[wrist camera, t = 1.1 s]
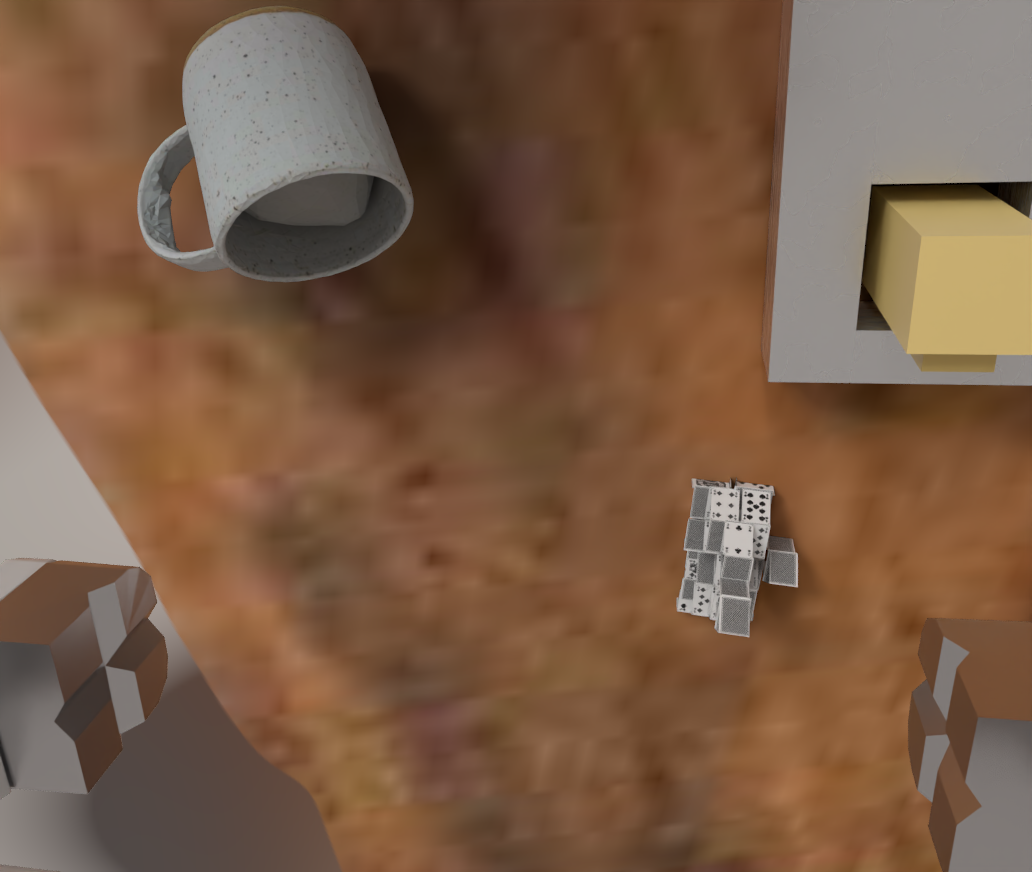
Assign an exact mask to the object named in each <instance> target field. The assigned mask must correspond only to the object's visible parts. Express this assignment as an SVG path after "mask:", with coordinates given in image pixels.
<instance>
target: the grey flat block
mask: <svg viewBox="0 0 1032 872" xmlns="http://www.w3.org/2000/svg"><path fill="white" fill-rule="evenodd" d="M972 182H999V187H998V193H997V198H999V199H1000V200H1002V201H1003V202H1005V203H1007V204H1008V205H1010V206H1011V207H1013V208H1014V209H1016V210H1017V211H1019V212H1020V213H1022V214H1023V215H1025V216H1027V217H1028V218H1030V219H1031V220H1032V0H783V5H782V21H781V37H780V53H779V69H778V85H777V101H776V117H775V133H774V149H773V166H772V182H771V198H770V214H769V230H768V246H767V262H766V278H765V294H764V310H763V327H762V343H761V351H762V356H763V360H764V365H765V369H766V374H767V379H768V382H809V383H881V384H954V385H1026V386H1032V355H997V358H996V364H995V370H994V372H921V370H920V369H919V367H918V366H917V364H916V362H915V361H914V359H913V358H912V356H911V354H906V352H905V350H904V349H903V347H902V346H901V344H900V342H899V341H898V339H897V338H896V336H895V334H894V333H893V331H892V330H891V328H890V326H889V325H888V323H887V321H886V320H885V318H884V317H883V315H882V313H881V312H880V310H879V309H878V307H877V305H876V304H875V302H874V301H859V298H860V288H861V279H862V269H863V259H864V250H865V240H866V230H867V221H868V211H869V202H870V192H871V184H916V183H972Z"/></svg>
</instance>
